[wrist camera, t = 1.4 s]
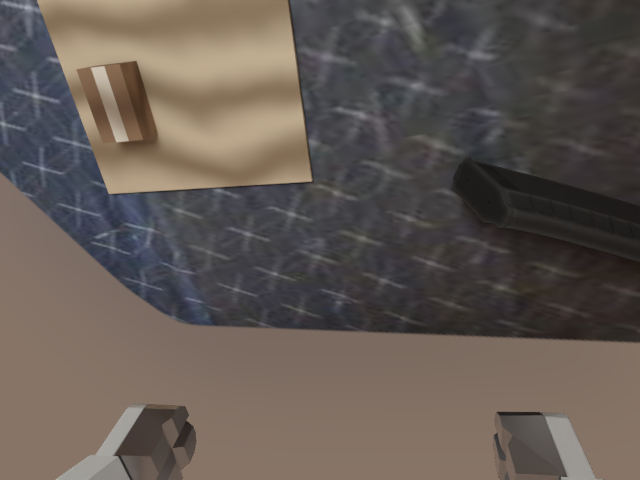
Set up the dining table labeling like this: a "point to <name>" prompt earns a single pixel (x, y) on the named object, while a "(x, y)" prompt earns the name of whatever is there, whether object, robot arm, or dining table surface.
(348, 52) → the dining table surface
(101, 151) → the cork mat
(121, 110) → the brown small block
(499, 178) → the dark grey curved slab
